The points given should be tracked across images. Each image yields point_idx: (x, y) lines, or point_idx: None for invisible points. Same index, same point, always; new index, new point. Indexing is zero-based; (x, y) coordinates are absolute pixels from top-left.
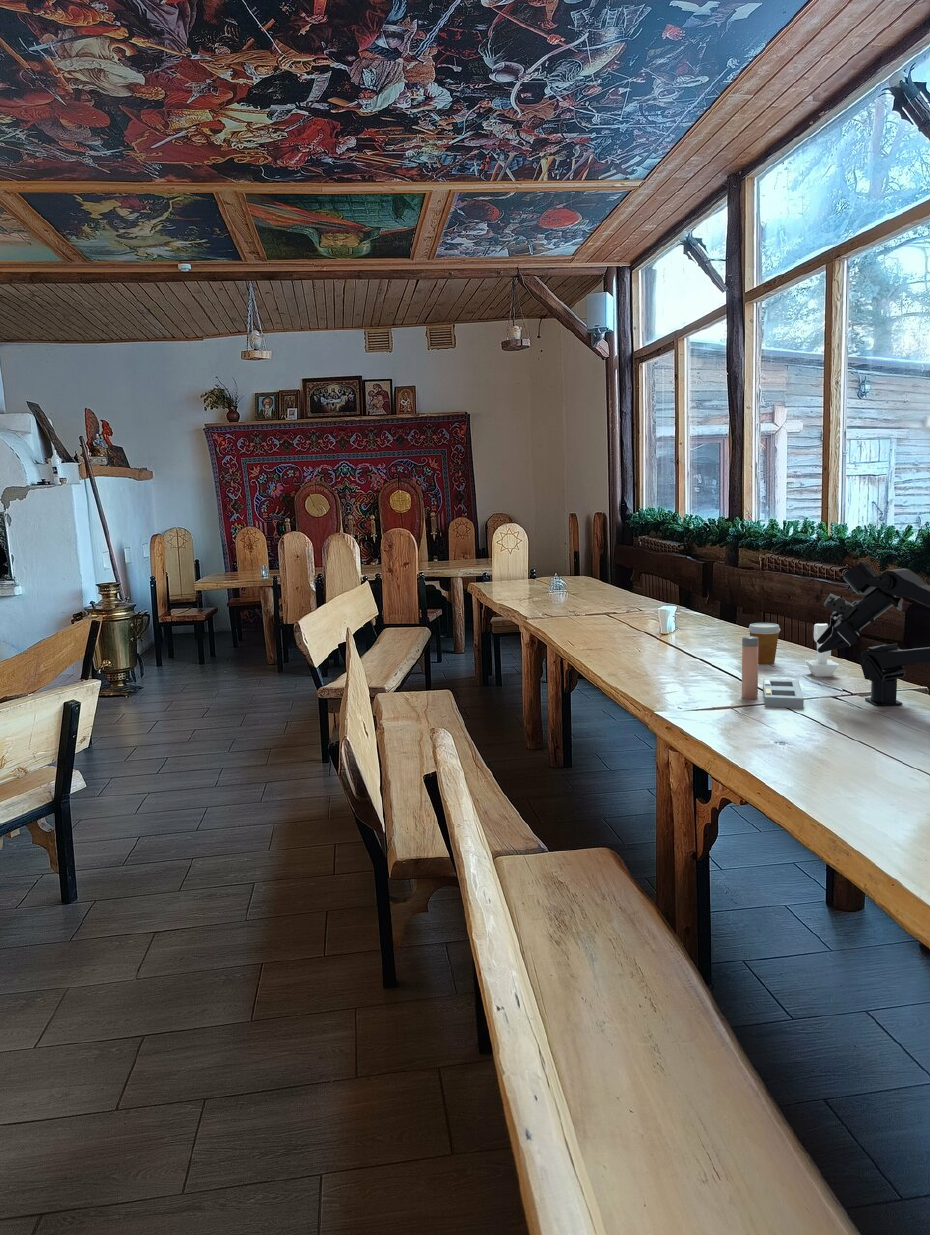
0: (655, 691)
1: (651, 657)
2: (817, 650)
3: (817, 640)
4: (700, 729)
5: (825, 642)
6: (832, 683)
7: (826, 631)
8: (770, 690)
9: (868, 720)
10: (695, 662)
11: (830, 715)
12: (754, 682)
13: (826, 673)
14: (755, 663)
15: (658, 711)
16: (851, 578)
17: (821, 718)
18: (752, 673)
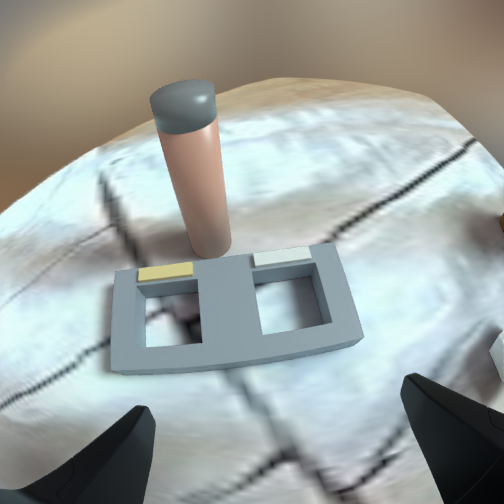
0: (220, 116)
1: (426, 107)
2: (138, 406)
3: (410, 378)
4: (16, 214)
5: (82, 453)
6: None
7: (465, 432)
8: (169, 276)
9: None
10: (444, 144)
11: (77, 430)
12: (186, 225)
13: (501, 370)
14: (175, 183)
15: (99, 149)
16: None
17: (52, 404)
18: (178, 201)
